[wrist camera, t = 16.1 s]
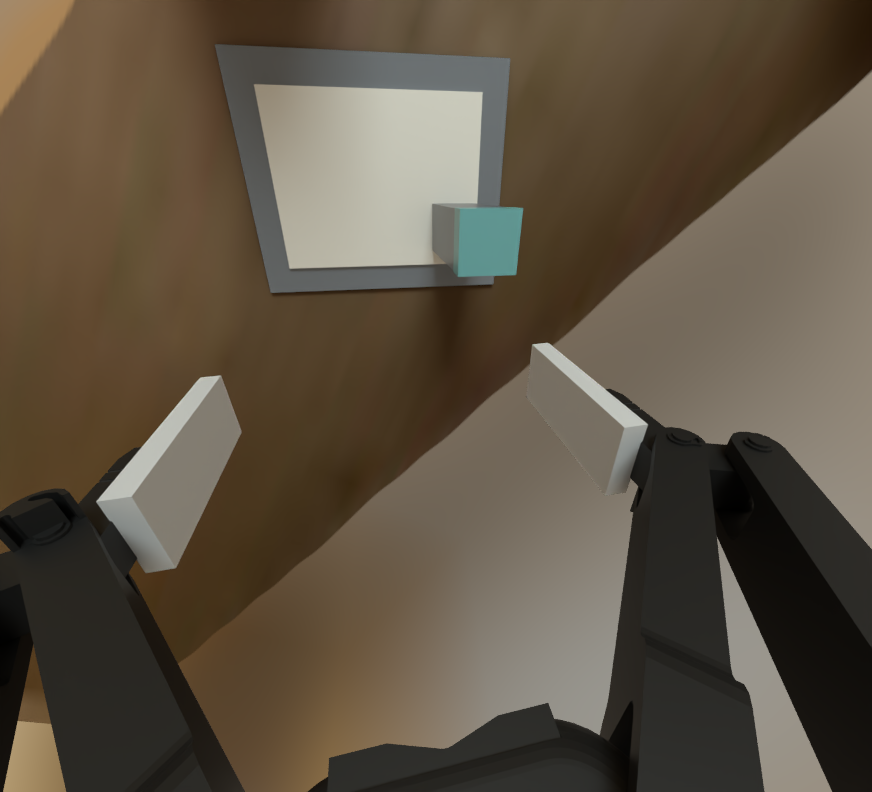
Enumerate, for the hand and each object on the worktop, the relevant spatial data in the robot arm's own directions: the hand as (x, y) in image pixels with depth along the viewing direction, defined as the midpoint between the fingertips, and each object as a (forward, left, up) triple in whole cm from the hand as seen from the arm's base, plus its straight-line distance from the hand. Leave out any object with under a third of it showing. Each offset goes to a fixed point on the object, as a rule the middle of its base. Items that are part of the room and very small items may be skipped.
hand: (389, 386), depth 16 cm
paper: (+1, +8, -20) cm, 21 cm away
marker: (+7, +5, -19) cm, 21 cm away
